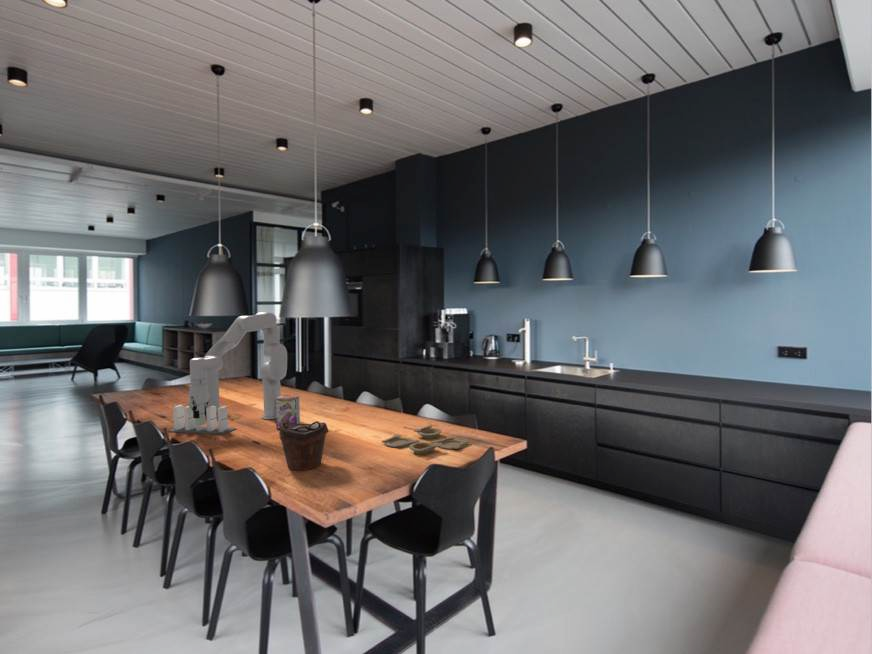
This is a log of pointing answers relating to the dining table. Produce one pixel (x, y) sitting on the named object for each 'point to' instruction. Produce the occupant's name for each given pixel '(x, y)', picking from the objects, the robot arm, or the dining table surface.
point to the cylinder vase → (213, 388)
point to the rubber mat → (202, 430)
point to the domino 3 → (200, 415)
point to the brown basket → (303, 444)
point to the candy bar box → (287, 410)
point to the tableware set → (425, 446)
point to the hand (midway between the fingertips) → (200, 416)
